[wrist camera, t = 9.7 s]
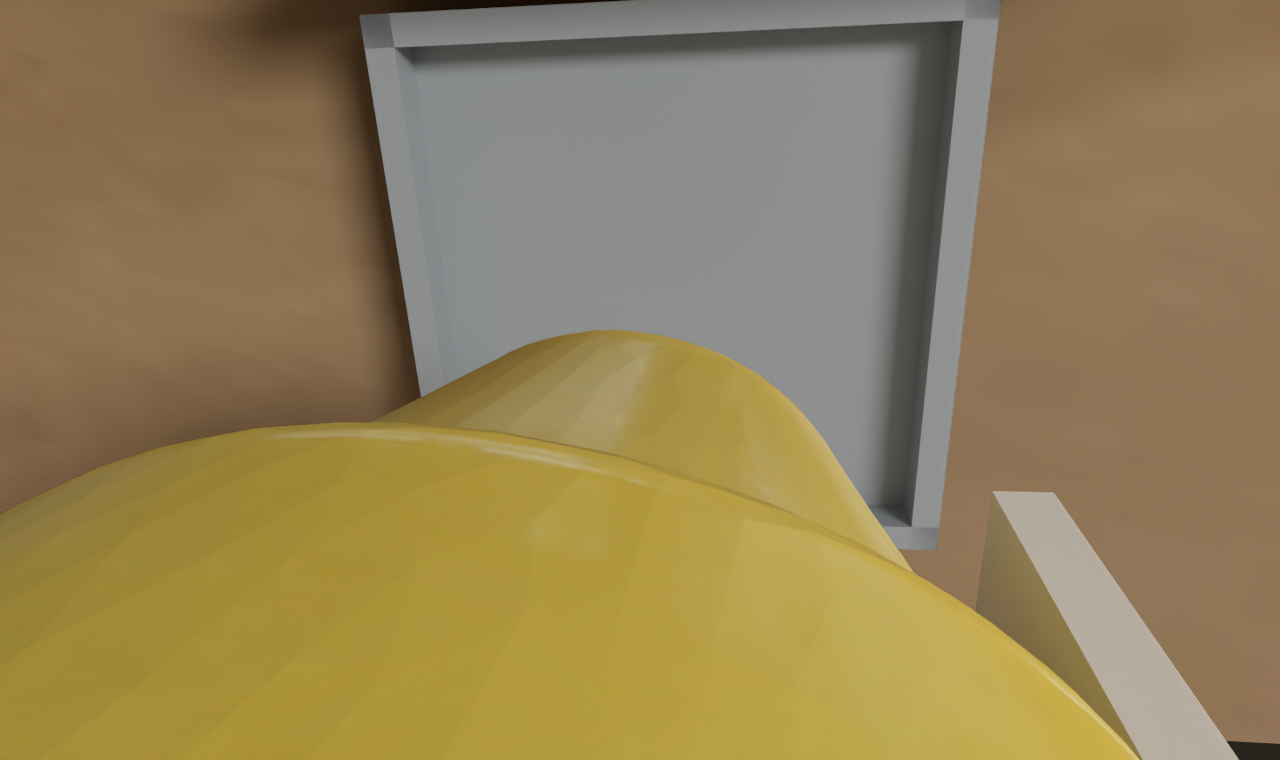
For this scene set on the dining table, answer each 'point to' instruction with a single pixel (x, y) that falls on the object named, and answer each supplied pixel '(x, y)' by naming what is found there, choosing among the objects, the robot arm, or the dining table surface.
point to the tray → (704, 199)
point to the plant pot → (507, 589)
